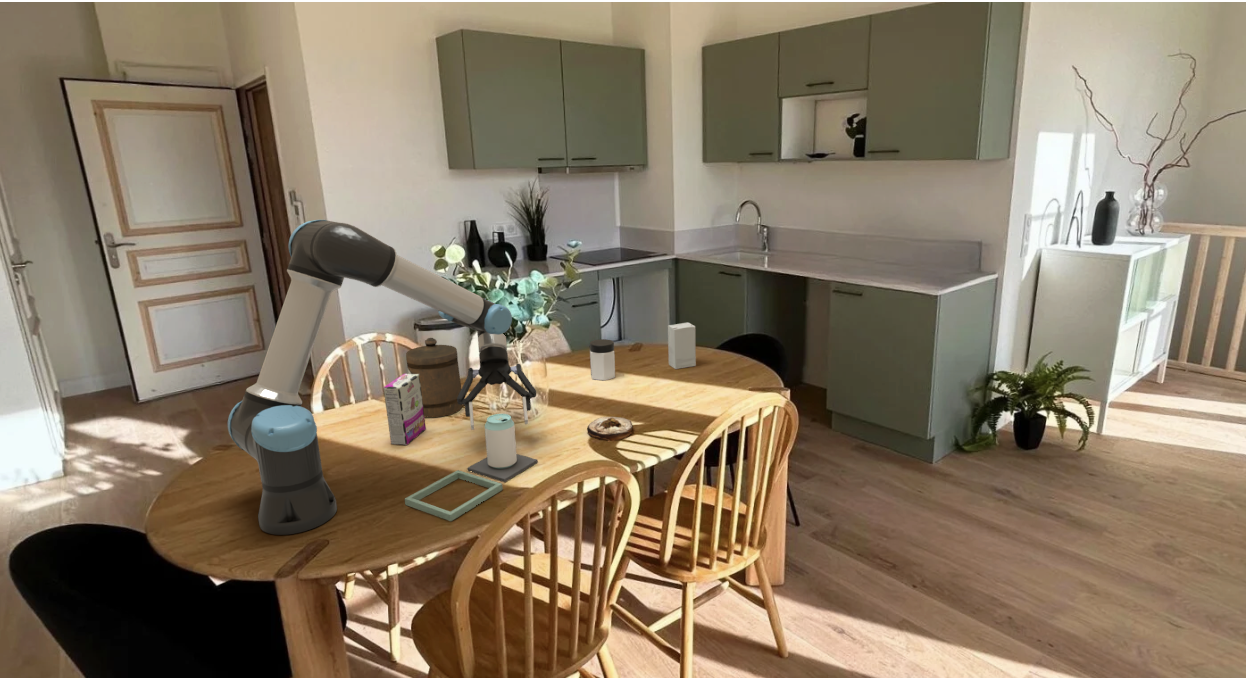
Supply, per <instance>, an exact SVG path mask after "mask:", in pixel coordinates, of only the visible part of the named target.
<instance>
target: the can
mask: <svg viewBox="0 0 1246 678" xmlns="http://www.w3.org/2000/svg"><path fill="white" fill-rule="evenodd" d="M484 436H485V437H484V438H485V449H486V457H487V462H488V465H490V466H491V467H493V468H497V469H503V468H508V467H510V466H512V465H513V464H514V463H516V461H517V455H516V454H517V443H516V430H515V422H514V420H513V419H512V416H511V415H509V414H508V413H497V414H496V413H495V414H492V415H489V416H488V417H487V418H486V422H485V424H484Z"/></svg>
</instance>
